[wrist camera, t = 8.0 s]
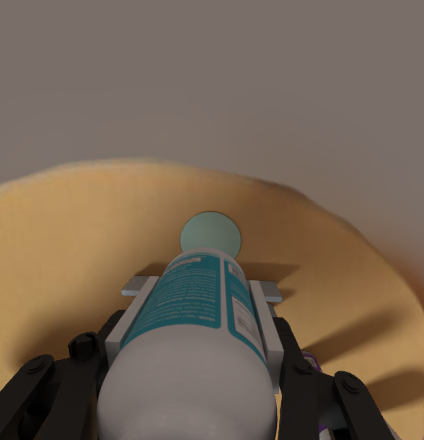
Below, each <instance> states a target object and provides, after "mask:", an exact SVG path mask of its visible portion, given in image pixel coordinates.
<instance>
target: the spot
mask: <svg viewBox="0 0 424 440" xmlns="http://www.w3.org/2000/svg"><path fill="white" fill-rule="evenodd" d="M180 245H181V249H182V252H185V251H187V250H190V249H193V248H199V247H207V248H213V249H217V250H220V251H222V252H224V253H226V254H228V255H229V256H231V257H232V258H233V259H235V258H236V256H237V255H238V253H239V250H240V247H241V237H240V233H239V230H238V228H237V226H236V225H235V223H234V222H233V221H232V220H231V219H230V218H228V217H227V216H225V215H223V214H220V213H216V212H204V213H200V214H198V215H196V216H194V217H192V218H191V219H190V220H189V221H188V222H187V223H186V224H185V226H184V228H183V230H182V232H181V237H180Z"/></svg>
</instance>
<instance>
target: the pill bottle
mask: <svg viewBox="0 0 424 440" xmlns="http://www.w3.org/2000/svg"><path fill="white" fill-rule="evenodd" d="M277 420H278V419H277V406H276V399H275V395H274V390H273V386H272V382H271V378H270V374H269V370H268V366H267V361H266V358H265V354H264V350H263V346H262V342H261V338H260V334H259V330H258V326H257V322H256V318H255V314H254V310H253V306H252V302H251V298H250V294H249V290H248V286H247V282H246V279H245V275H244V273H243V271H242V269H241V267H240V266H239V264H238V263H237V262H236V261H235V260H234V259H233V258H232V257H231V256H229V255H228V254H226V253H224V252H222V251H220V250H217V249H213V248H207V247H199V248H193V249H190V250H187V251H185V252H182V253H181V254H179V255H178V256H176V257H175V258H174V259H173V260H172V261H171V262H170V263H169V265H168V266H167V268H166V269H165V271H164V273H163V274H162V276H161V278H160V280H159V282H158V283H157V285H156V287H155V289H154V291H153V292H152V294H151V296H150V298H149V300H148V301H147V303H146V305H145V307H144V308H143V310H142V312H141V314H140V316H139V317H138V319H137V321H136V323H135V325H134V326H133V328H132V330H131V332H130V334H129V335H128V337H127V339H126V341H125V342H124V344H123V346H122V348H121V349H120V351H119V353H118V355H117V356H116V358H115V360H114V362H113V364H112V366H111V368H110V370H109V371H108V373H107V375H106V377H105V380H104V382H103V384H102V387H101V390H100V394H99V398H98V402H97V413H96V422H97V430H98V436H99V440H275V437H276V431H277Z"/></svg>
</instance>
